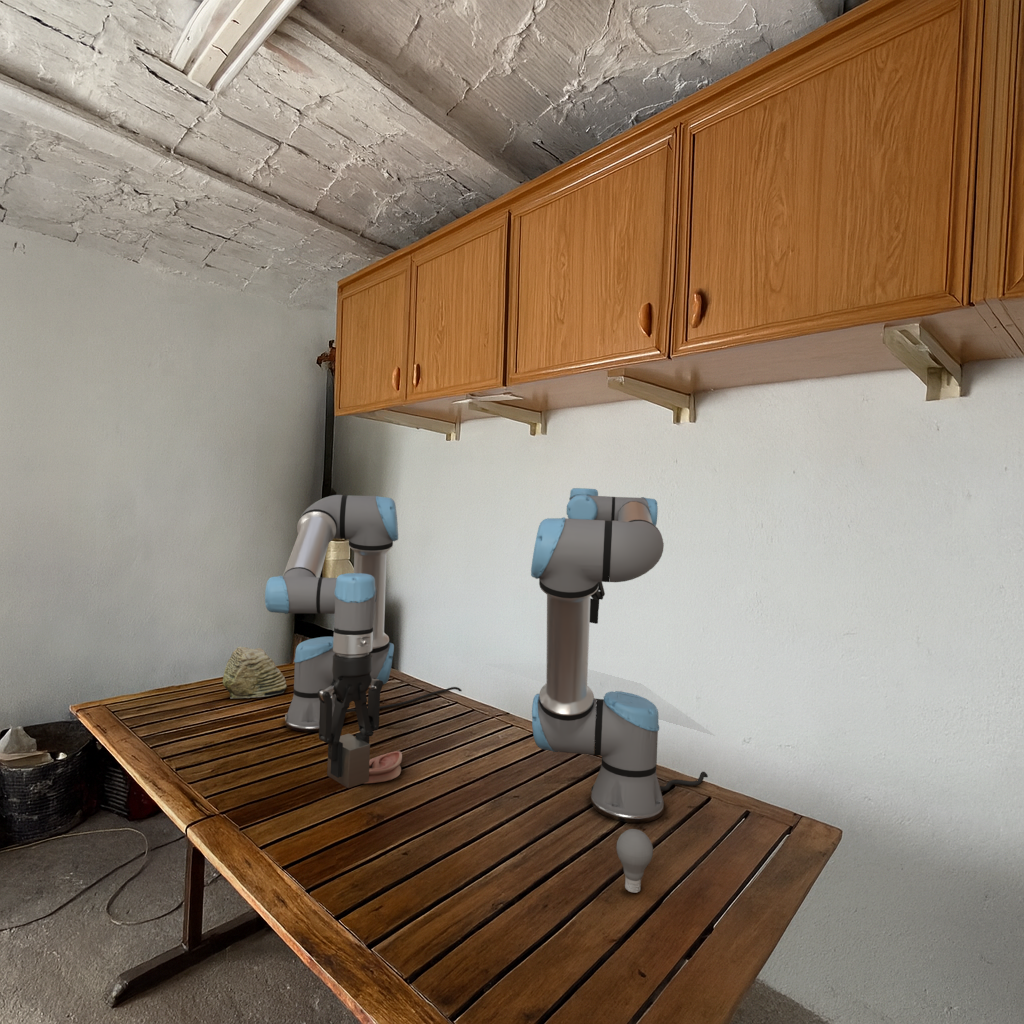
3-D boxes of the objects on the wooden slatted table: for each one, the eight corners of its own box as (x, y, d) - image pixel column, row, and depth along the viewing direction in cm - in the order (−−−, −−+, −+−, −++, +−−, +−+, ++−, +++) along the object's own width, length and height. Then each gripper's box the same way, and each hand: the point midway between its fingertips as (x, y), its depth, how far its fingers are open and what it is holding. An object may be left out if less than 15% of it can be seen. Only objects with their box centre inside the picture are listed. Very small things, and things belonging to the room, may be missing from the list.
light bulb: (610, 879, 108) (613, 822, 108) (644, 879, 109) (647, 822, 109) (619, 902, 102) (622, 840, 102) (655, 901, 103) (658, 840, 103)
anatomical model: (332, 762, 141) (355, 743, 152) (332, 780, 141) (355, 759, 153) (388, 770, 139) (407, 750, 150) (388, 788, 139) (407, 766, 150)
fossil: (218, 695, 195) (220, 647, 195) (278, 685, 208) (279, 640, 207) (228, 703, 189) (230, 653, 188) (289, 692, 201) (290, 645, 201)
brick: (326, 775, 125) (328, 738, 125) (347, 769, 129) (348, 733, 129) (348, 788, 120) (349, 750, 120) (368, 781, 124) (370, 744, 123)
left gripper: (322, 664, 115) (317, 791, 115) (401, 650, 128) (396, 764, 128) (301, 655, 120) (296, 777, 121) (379, 643, 133) (374, 753, 133)
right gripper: (564, 548, 157) (560, 634, 157) (619, 546, 175) (616, 622, 176) (540, 546, 162) (537, 628, 162) (597, 544, 180) (593, 618, 181)
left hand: (348, 770), depth 124 cm, fingers closed on brick, 5 cm apart
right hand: (578, 625), depth 169 cm, fingers open, 13 cm apart
